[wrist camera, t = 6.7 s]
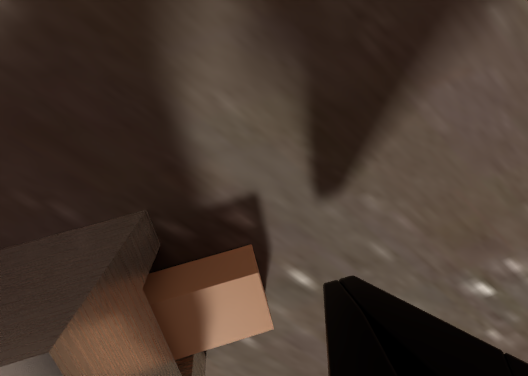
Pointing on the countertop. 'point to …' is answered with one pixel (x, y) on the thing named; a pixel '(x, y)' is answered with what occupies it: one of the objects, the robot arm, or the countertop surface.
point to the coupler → (209, 301)
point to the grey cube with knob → (85, 305)
